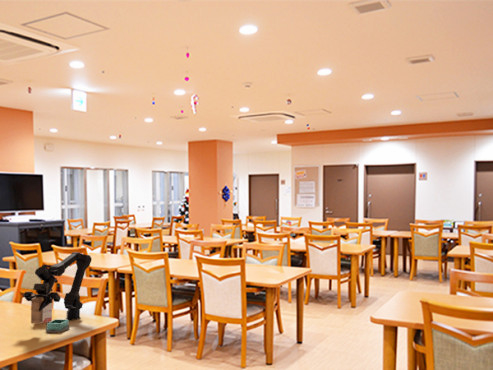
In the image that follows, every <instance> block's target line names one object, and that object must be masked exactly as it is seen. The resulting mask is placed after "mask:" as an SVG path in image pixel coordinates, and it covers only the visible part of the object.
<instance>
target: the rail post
mask: <svg viewBox="0 0 493 370" xmlns="http://www.w3.org/2000/svg"><path fill="white" fill-rule="evenodd" d="M30 302H31V304H30V305H31V306H30V307H31V308H30V311H31V312H30V323H31V324H38V325H39V324H42V323H41V322H42V321H43V309H42V310H41V311H39V308H40V306H41V304H42V302H43V297H35V298H32V299H31V301H30Z"/></svg>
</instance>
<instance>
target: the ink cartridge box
mask: <svg viewBox="0 0 493 370" xmlns="http://www.w3.org/2000/svg"><path fill="white" fill-rule="evenodd" d="M51 321H53V302H52V303H50V304H49V305H47V306H46V307H45V308H43V321H42V322H41V323H40V324H45V323H46V324H47V323H48V322H51Z"/></svg>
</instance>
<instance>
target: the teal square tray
mask: <svg viewBox="0 0 493 370" xmlns="http://www.w3.org/2000/svg"><path fill="white" fill-rule="evenodd" d="M69 321H70V320H68V319H58V318H57V319H52V321H51V322H49V323H46V328H45V332H46V333H48V334H57V333H58V332H60V333H64V332H67V331H69V330H70V325H69ZM68 329H69V330H68Z"/></svg>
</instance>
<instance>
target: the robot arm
mask: <svg viewBox="0 0 493 370" xmlns="http://www.w3.org/2000/svg"><path fill="white" fill-rule="evenodd" d="M73 263H76V267H77V268H76V272H75V274H74V278H73V280H72V281H73V282H72V285H71V288H70V291H68V292H67V293H65V294H64V298H63V304H64V308H65V309H67V310H66V320H68V319H69V321H73V320H72V319H75V320H78V319H77V318H80V319H81V316H80V314H81V313H80V311H81V309H83V305H84V304H83V303H82V302H81V296H80V290H81V286H82V283H83V279H84V276H85V273H86V270H87V269H88V268H89V267H90V265H91V263H92V257H91V255H89V254H84V253H81V252H77V251H74V252H71V254H70V255H68V256H67V257H65V258H64V259H63V260H61V261H60V262H59V263H54V264H52V265H50V266H49V267H48V266H47V264H42V265H41V266H39V267H38V268H37V269H35V271H34V273H35V275H36V277H37V278H38V279H39V280H41V281H43V282H42V283H34V285H33V287H32V290H33V291H35V293H34V292H33V291H25V292H23V296H22V297H24V299H25V300H26V301H27V302H31V299H32V298H35V297H43V302H42V304H41V306H40V308H39V311H41V310H42V309H43V308H45V307H46V306H47V305H49V304H50V303H52V304H53V302H54V303H59V302H60V301H61V297H62V296H60V294H59V293H58V292H57V291H56V292H55V291H54V290H53V287H54V285H55V283H58V282H59V281H58V278H57V277H61V276H62V275H63V274H64V273H65V272H66V269H68V267H70V266H71V265H72V264H73Z"/></svg>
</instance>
